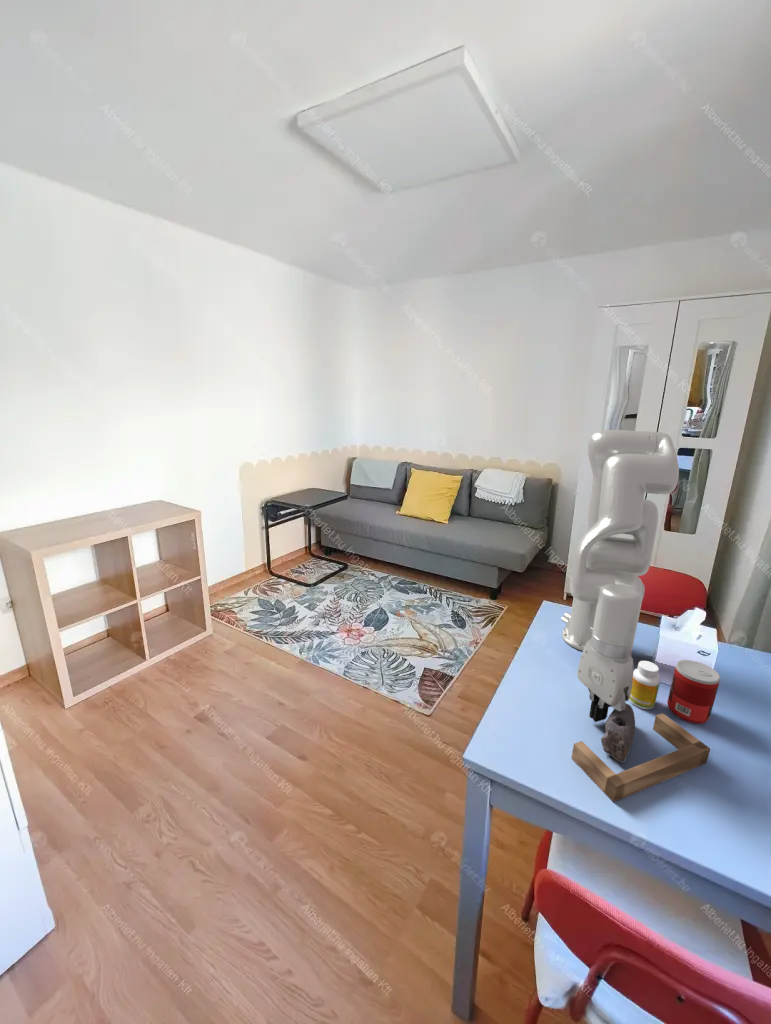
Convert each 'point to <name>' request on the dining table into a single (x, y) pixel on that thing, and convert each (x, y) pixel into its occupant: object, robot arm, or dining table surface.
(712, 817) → the dining table surface
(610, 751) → the perforated stone tool
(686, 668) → the canned food
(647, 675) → the supplement bottle
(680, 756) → the bay
